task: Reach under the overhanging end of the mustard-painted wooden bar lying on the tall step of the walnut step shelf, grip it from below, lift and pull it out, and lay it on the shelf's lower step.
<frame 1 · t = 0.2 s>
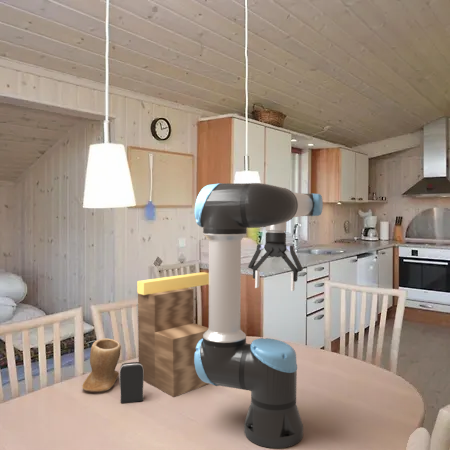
hand: (274, 289, 162), 28 cm above the table, tool pointing down, fingers open, 13 cm apart
step shelf: (175, 380, 147), on the table
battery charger: (131, 400, 132), on the table
bar: (175, 288, 152), point 30 cm above the table, touching step shelf
brown boot: (104, 385, 143), on the table
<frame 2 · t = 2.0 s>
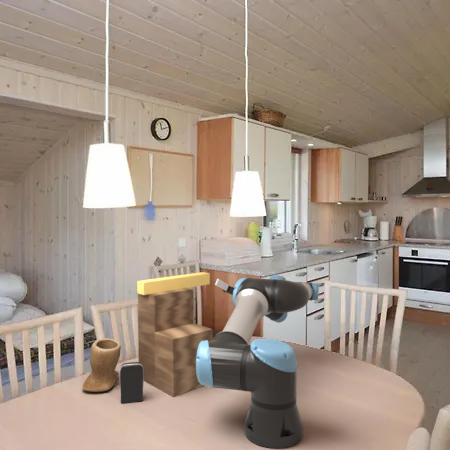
hand: (228, 284, 169), 28 cm above the table, tool pointing upward, fingers open, 13 cm apart
nothing on the table moved.
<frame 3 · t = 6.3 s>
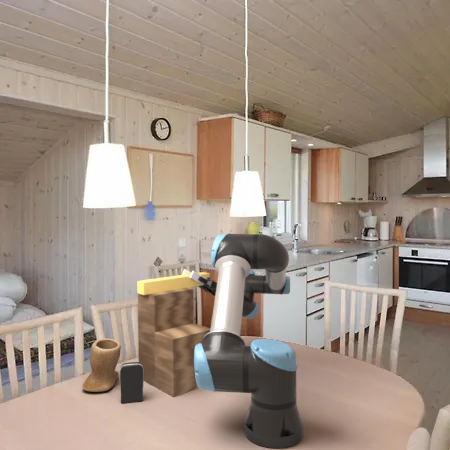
hand: (187, 273, 155), 35 cm above the table, tool pointing upward, fingers closed on bar, 4 cm apart
bar: (175, 288, 152), point 30 cm above the table, touching gripper, step shelf
everything else where it was.
when the fingers open (25 cm above the table, at t = 15.4 s): bar drops 2 cm, resting on step shelf.
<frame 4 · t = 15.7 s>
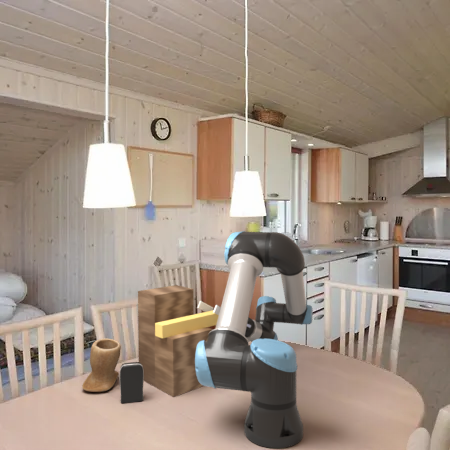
hand: (207, 306, 149), 24 cm above the table, tool pointing upward, fingers open, 8 cm apart
bar: (194, 328, 145), point 18 cm above the table, touching step shelf
everything else where it was.
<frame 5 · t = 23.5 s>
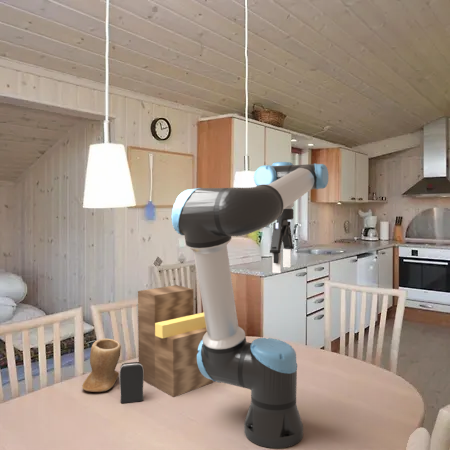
hand: (282, 270, 149), 37 cm above the table, tool pointing down, fingers open, 13 cm apart
nothing on the table moved.
at the end: bar inside the target area (0.1 cm from its centre), point 18.0 cm above the table; bar tilted 0°; the gripper is holding nothing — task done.
